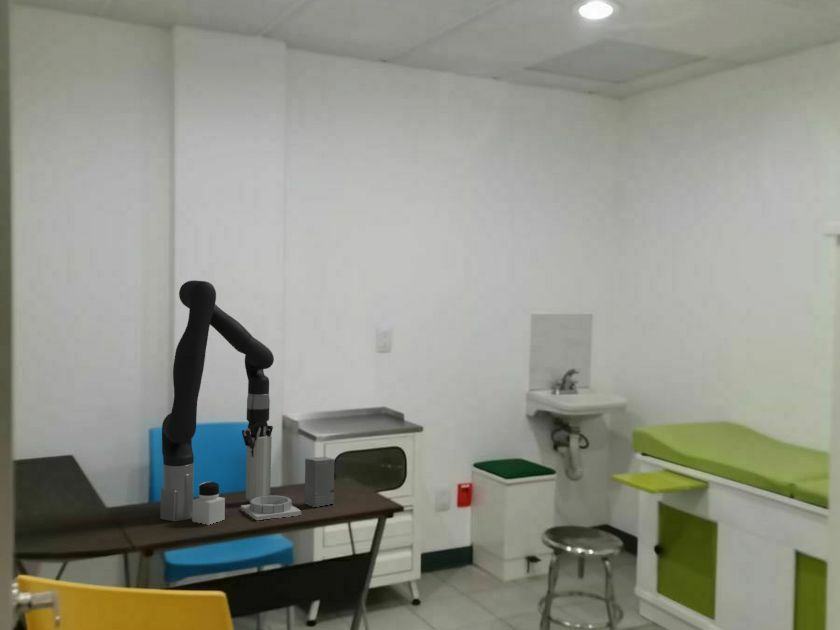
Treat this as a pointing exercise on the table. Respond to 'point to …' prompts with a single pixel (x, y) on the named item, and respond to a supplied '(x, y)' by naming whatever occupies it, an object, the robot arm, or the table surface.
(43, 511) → the table surface
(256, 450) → the paper towel roll
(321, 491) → the skincare box
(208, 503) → the medicine bottle
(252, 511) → the collar socket
